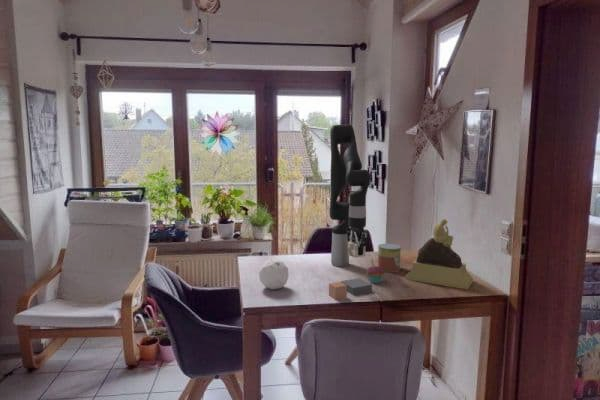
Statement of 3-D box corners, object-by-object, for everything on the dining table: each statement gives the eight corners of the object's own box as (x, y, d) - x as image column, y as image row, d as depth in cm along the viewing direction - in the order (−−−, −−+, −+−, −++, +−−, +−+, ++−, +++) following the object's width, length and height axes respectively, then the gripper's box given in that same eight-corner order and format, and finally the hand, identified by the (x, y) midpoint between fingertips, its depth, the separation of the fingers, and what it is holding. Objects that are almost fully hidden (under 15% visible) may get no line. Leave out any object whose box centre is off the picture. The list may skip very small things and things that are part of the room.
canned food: (394, 273, 218) (394, 250, 216) (373, 269, 224) (374, 246, 223) (403, 268, 226) (404, 245, 225) (383, 264, 233) (384, 242, 231)
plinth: (340, 287, 198) (340, 281, 197) (359, 284, 202) (359, 278, 202) (352, 294, 189) (352, 288, 188) (371, 291, 193) (372, 284, 193)
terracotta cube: (328, 295, 188) (328, 283, 187) (339, 293, 190) (339, 281, 189) (335, 300, 183) (335, 287, 182) (346, 297, 185) (346, 285, 184)
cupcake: (370, 285, 201) (371, 259, 199) (363, 279, 209) (363, 255, 207) (387, 283, 203) (388, 258, 201) (379, 277, 211) (380, 253, 209)
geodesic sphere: (301, 277, 194) (288, 250, 198) (277, 284, 184) (264, 255, 189) (283, 290, 203) (272, 263, 207) (260, 297, 194) (248, 269, 198)
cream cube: (347, 254, 194) (348, 242, 194) (358, 253, 197) (358, 241, 196) (354, 257, 189) (355, 245, 189) (365, 256, 192) (365, 243, 191)
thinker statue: (472, 281, 206) (476, 218, 202) (467, 289, 195) (471, 223, 191) (413, 272, 220) (415, 213, 216) (405, 279, 209) (407, 217, 205)
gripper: (341, 213, 195) (340, 250, 198) (359, 219, 182) (358, 258, 185) (355, 212, 199) (354, 248, 201) (374, 217, 186) (373, 256, 188)
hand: (356, 253), depth 193 cm, fingers closed on cream cube, 5 cm apart
